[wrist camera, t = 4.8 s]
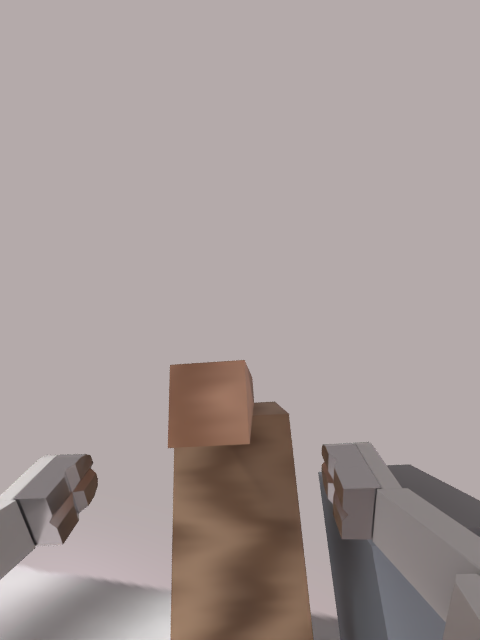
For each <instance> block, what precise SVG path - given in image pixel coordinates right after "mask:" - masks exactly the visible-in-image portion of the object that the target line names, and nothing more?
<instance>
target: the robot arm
mask: <svg viewBox="0 0 480 640" xmlns="http://www.w3.org/2000/svg"><path fill="white" fill-rule="evenodd" d="M322 456H323V459H324V461H325V462H324V463H323V464H322V478H323V484H324V488H325V492H326V495H327V498H328V499H329V500H330V501H331V502H332V503H333V516H334V518H335V521H336V524H337V527H338V530H339V533H340V536H341V539H372V540H373V543H374V544H375V545H376V546H377V547H378V548H379V549H380V550H381V551H382V552H383V554H384V555H385V556H386V557H387V558H388V559H389V560H390V561H391V562H392V564H393V565H394V566H395V567H396V568H397V569H398V570H399V571H400V572H401V574H402V575H403V576H404V577H405V578H406V579H407V580H408V581H409V582H410V584H411V585H412V586H413V587H414V588H415V589H416V590H417V591H418V592H419V593H420V595H421V596H422V597H423V598H424V599H425V600H426V601H427V602H428V603H429V605H430V606H431V607H432V608H433V609H434V610H435V611H436V612H437V613H438V615H439V616H440V617H441V618H442V619H443V620H444V621H445V622H446V625H445V629H444V634H443V639H442V640H480V537H479V536H477V535H476V534H474V533H473V532H471V531H470V530H468V529H467V528H465V527H464V526H463V525H461V524H460V523H458V522H457V521H455V520H454V519H452V518H451V517H449V516H448V515H446V514H445V513H443V512H442V511H440V510H439V509H438V508H436V507H435V506H433V505H432V504H430V503H429V502H427V501H426V500H424V499H423V498H421V497H420V496H418V495H417V494H416V493H414V492H413V491H411V490H410V489H408V488H402V487H401V486H400V484H399V483H398V481H397V480H396V478H395V477H394V475H393V474H392V473H391V471H390V470H389V468H388V467H387V465H386V464H385V462H384V461H383V460H382V458H381V457H380V455H379V454H378V452H377V451H376V449H375V448H374V447H373V445H372V444H371V443H369V442H360V443H343V444H324V445H323V446H322ZM92 464H93V461H92V458H91V456H90V455H87V454H78V455H77V454H76V455H75V454H74V455H46V456H44V457H41V458H40V459H39V460H38V461H37V462H36V463H34V464H33V465H32V466H31V467H30V468H29V469H28V470H27V471H26V472H25V473H24V474H23V475H22V476H21V477H20V478H19V479H17V480H16V481H15V482H14V483H13V484H12V485H11V486H10V487H9V488H8V489H7V490H6V491H5V492H4V493H3V494H1V495H0V579H2V578H3V577H4V576H5V575H6V574H7V573H8V572H9V571H10V570H12V569H13V568H14V567H15V566H16V565H17V564H18V563H19V562H20V561H22V560H23V559H24V558H25V557H26V556H27V555H28V554H29V553H30V552H31V551H33V549H35V546H47V545H62V544H63V543H64V542H65V541H66V539H67V537H68V536H69V535H70V533H71V531H72V530H73V528H74V527H75V525H76V524H77V522H78V521H79V513H80V512H81V511H82V510H84V509H85V508H86V507H87V506H89V504H90V502H91V501H92V499H93V498H94V495H95V492H96V489H97V486H98V483H97V482H98V478H97V475H96V473H95V472H94V471H93V470H92V469H91V466H92Z"/></svg>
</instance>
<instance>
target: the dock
mask: <svg viewBox="0 0 480 640" xmlns="http://www.w3.org/2000/svg"><path fill="white" fill-rule="evenodd" d="M387 467H388V468H389V470H390V471H391V473H392V474H393V475H394V477H395V478H396V480H397V481H398V483H399V484H400V486H401V487H402V488H408V489H410V490H411V491H413V492H414V493H416V494H417V495H418V496H420V497H421V498H423V499H424V500H426V501H427V502H429V503H430V504H432V505H433V506H435V507H436V508H438V509H439V510H440V511H442V512H443V513H445V514H446V515H448V516H449V517H451V518H452V519H454V520H455V521H457V522H458V523H460V524H461V525H463V526H464V527H465V528H467V529H468V530H470V531H471V532H473V533H474V534H476V535H477V536H479V537H480V501H479V500H477V499H475V498H473V497H471V496H469V495H468V494H466V493H463V492H462V491H460V490H458V489H456V488H454V487H452V486H450V485H448V484H446V483H444V482H442V481H440V480H439V479H437V478H435V477H433V476H431V475H429V474H427V473H425V472H423V471H421V470H419V469H417V468H415V467H413V466H411V465H388V466H387ZM318 474H319V481H320V489H321V496H322V503H323V511H324V518H325V526H326V533H327V541H328V548H329V556H330V563H331V570H332V578H333V586H334V592H335V601H336V608H337V615H338V623H339V630H340V638H341V640H442V639H443V634H444V629H445V625H446V622H445V621H444V620H443V619H442V618H441V617H440V616H439V615H438V613H437V612H436V611H435V610H434V609H433V608H432V607H431V606H430V605H429V603H428V602H427V601H426V600H425V599H424V598H423V597H422V596H421V595H420V593H419V592H418V591H417V590H416V589H415V588H414V587H413V586H412V585H411V584H410V582H409V581H408V580H407V579H406V578H405V577H404V576H403V575H402V574H401V572H400V571H399V570H398V569H397V568H396V567H395V566H394V565H393V564H392V562H391V561H390V560H389V559H388V558H387V557H386V556H385V555H384V554H383V552H382V551H381V550H380V549H379V548H378V547H377V546H376V545H375V544H374V543H373V540H372V539H341V536H340V533H339V530H338V527H337V524H336V521H335V518H334V516H333V503H332V502H331V501H330V500H329V499H328V498H327V495H326V492H325V488H324V484H323V478H322V472H319V473H318Z"/></svg>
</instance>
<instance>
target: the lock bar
mask: <svg viewBox="0 0 480 640" xmlns="http://www.w3.org/2000/svg"><path fill="white" fill-rule="evenodd" d="M253 406H254V396H253V383H252V376H251V374H250V372H249V369H248V367H247V365H246V362H245V360H239V361H224V362H208V363H192V364H177V365H170V387H169V426H168V428H169V430H168V448H179V447H200V446H220V445H241V444H250V436H251V426H252V416H253Z"/></svg>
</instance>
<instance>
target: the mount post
mask: <svg viewBox="0 0 480 640" xmlns="http://www.w3.org/2000/svg"><path fill="white" fill-rule="evenodd" d="M171 640H313V631H312V622H311V613H310V604H309V595H308V585H307V576H306V567H305V558H304V549H303V540H302V531H301V522H300V512H299V503H298V495H297V485H296V476H295V467H294V458H293V448H292V440H291V430H290V422H289V414H288V413H287V412H286V411H285V410H284V409H283V408H281V407H280V406H279V405H278V404H277V403H276V402H261V403H254V406H253V416H252V426H251V436H250V444H241V445H220V446H200V447H179V448H174V488H173V542H172V592H171Z"/></svg>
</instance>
